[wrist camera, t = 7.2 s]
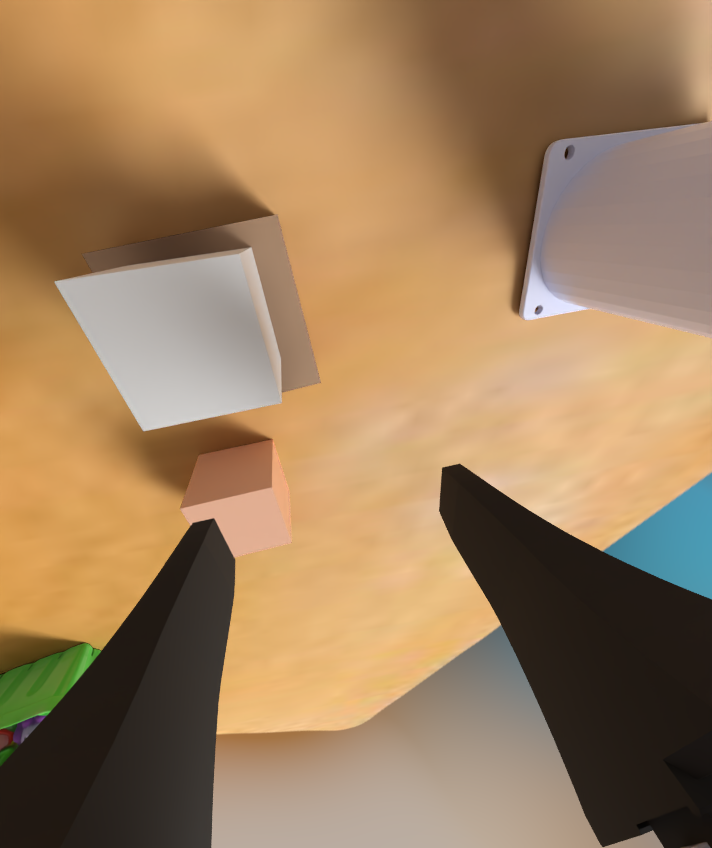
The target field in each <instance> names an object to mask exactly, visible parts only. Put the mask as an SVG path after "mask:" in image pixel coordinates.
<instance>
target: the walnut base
mask: <svg viewBox="0 0 712 848" xmlns="http://www.w3.org/2000/svg"><path fill="white" fill-rule="evenodd" d="M249 247H251V248H252V251H253V255H254V259H255V263H256V266H257V270H258V274H259V278H260V281H261V285H262V289H263V293H264V297H265V300H266V304H267V308H268V312H269V315H270V319H271V323H272V327H273V331H274V334H275V338H276V342H277V346H278V349H279V353H280V357H281V386H282V392H286V391H290V390H294V389H298V388H302V387H306V386H310V385H314V384H318V383H321V381H320V377H319V373H318V369H317V366H316V362H315V358H314V354H313V350H312V346H311V342H310V339H309V335H308V331H307V327H306V323H305V319H304V315H303V311H302V308H301V304H300V300H299V296H298V292H297V288H296V284H295V281H294V277H293V273H292V269H291V265H290V261H289V257H288V253H287V250H286V246H285V242H284V238H283V234H282V230H281V226H280V223H279V219H278V215H272V216H267V217H262V218H257V219H252V220H247V221H242V222H237V223H232V224H227V225H223V226H218V227H213V228H208V229H203V230H198V231H193V232H188V233H183V234H178V235H173V236H168V237H163V238H158V239H153V240H148V241H143V242H138V243H133V244H128V245H123V246H118V247H113V248H108V249H103V250H98V251H94V252H89V253H84V254H82V255H83V257H84V259H85V260H86V262H87V264H88V266H89V267H90V269H91V271H92V272H93V273H95V272H100V271H105V270H109V269H114V268H118V267H123V266H128V265H134V264H141V263H148V262H155V261H161V260H168V259H175V258H182V257H188V256H195V255H202V254H209V253H215V252H222V251H229V250H236V249H242V248H249Z"/></svg>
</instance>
